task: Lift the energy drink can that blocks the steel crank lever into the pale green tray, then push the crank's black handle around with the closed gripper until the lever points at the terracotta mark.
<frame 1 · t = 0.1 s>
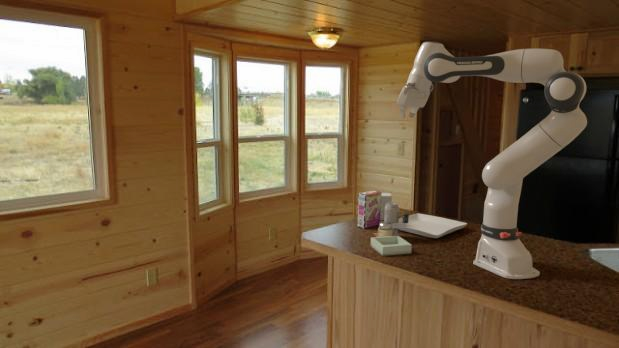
hand: (406, 117, 169), 52 cm above the counter, tool tilted 20°, fingers open, 8 cm apart
crank lever: (394, 220, 179), point 9 cm above the counter, hinge at -92.0°
crank pedestal: (384, 241, 179), on the counter
supplement box: (383, 219, 215), on the counter
square plate: (426, 230, 197), on the counter
tray: (390, 249, 169), on the counter
candy bar box: (368, 226, 202), on the counter
energy drink can: (390, 237, 186), on the counter
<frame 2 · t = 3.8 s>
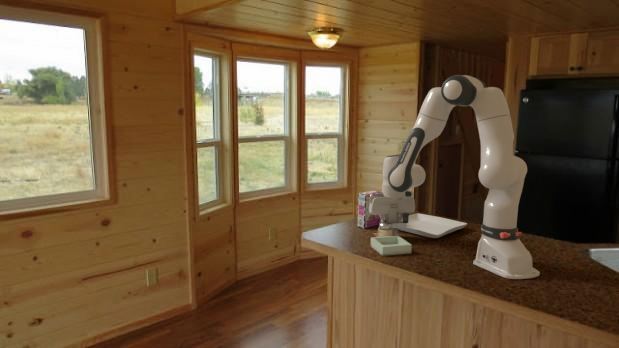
hand: (391, 223, 184), 6 cm above the counter, tool pointing down, fingers closed on energy drink can, 6 cm apart
energy drink can: (390, 237, 185), on the counter, touching gripper
everything else where it was.
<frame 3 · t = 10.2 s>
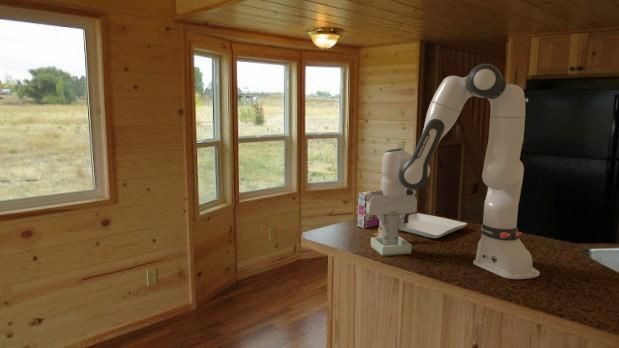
hand: (390, 224, 168), 10 cm above the counter, tool pointing down, fingers closed on energy drink can, 6 cm apart
energy drink can: (390, 246, 170), point 1 cm above the counter, touching gripper, tray
everything else where it was.
when the fingers open (9 cm above the counter, at t = 11.2 s): energy drink can stays where it is, resting on tray.
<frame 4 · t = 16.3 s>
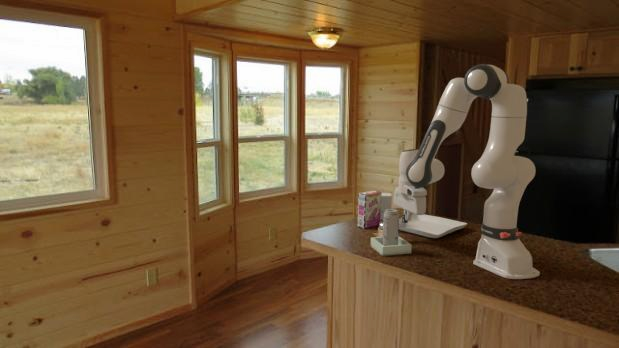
hand: (408, 220, 178), 9 cm above the counter, tool pointing down, fingers closed
crank lever: (394, 220, 179), point 9 cm above the counter, hinge at -89.7°, touching gripper
energy drink can: (390, 247, 170), point 1 cm above the counter, touching tray
everything else where it was.
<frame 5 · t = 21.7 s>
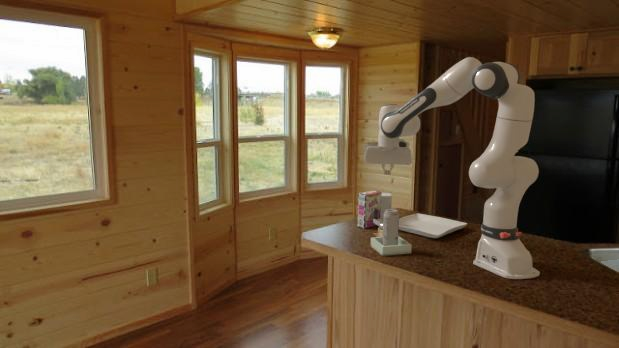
hand: (387, 174, 184), 27 cm above the counter, tool pointing down, fingers closed
crank lever: (380, 218, 182), point 9 cm above the counter, hinge at 5.1°
everything else where it was.
at the end: energy drink can inside the target area on the tray (0.8 cm from its centre), point 0.6 cm above the tray's base; energy drink can tilted 0°; crank lever at +5° (first picture: -92°) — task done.
